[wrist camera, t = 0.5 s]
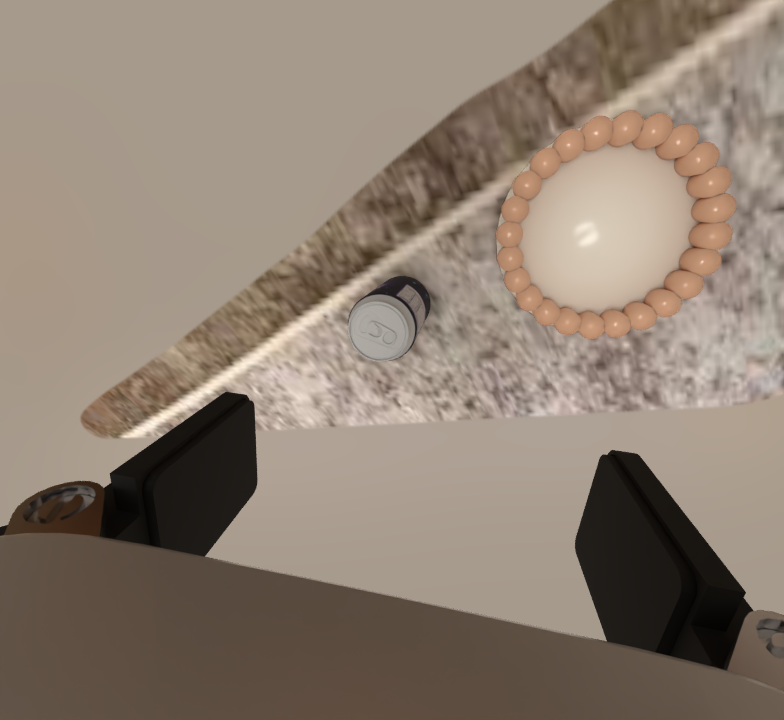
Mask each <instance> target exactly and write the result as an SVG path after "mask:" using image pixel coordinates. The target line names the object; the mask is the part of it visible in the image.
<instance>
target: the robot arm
mask: <svg viewBox="0 0 784 720" xmlns="http://www.w3.org/2000/svg"><path fill="white" fill-rule="evenodd" d="M256 460H257V458H256V434H255V409H254V403H253V401H250V400H249V398H248V396H247V395H244V394H237V393H230V392H225V393H223V394H222V395H220V396H219V397H218V398H216V399H215V400H213V401H212V402H210V403H209V404H208V405H206V406H205V407H203V408H202V409H201V410H199V411H198V412H196V413H195V414H193V415H192V416H191V417H189V418H188V419H186V420H185V421H184V422H182V423H181V424H179V425H178V426H176V427H175V428H174V429H172V430H171V431H169V432H168V433H166V434H165V435H164V436H162V437H161V438H159V439H158V440H157V441H155V442H154V443H152V444H151V445H149V446H148V447H147V448H145V449H144V450H142V451H141V452H139V453H138V454H137V455H135V456H134V457H132V458H131V459H130V460H128V461H127V462H125V463H124V464H122V465H121V466H120V467H118V468H117V469H115V470H114V471H113V472H111V473H110V478H111V484H109V485H107V486H106V487H105V488H103V487H102V486H101V485H100V484H98V483H95V482H91V481H74V482H67V483H63V484H59V485H55V486H52V487H50V488H47V489H45V490H43V491H40V492H38V493H36V494H34V495H33V496H31V497H29V498H27V499H26V500H25V501H24V502H22V503H21V504H20V505H19V506H18V507H17V508H16V510H15V511H14V513H13V514H12V516H11V519H10V521H9V524H8V525H6V526H2V527H0V720H784V615H782V614H779V613H775V612H772V611H764V610H757V611H753V610H752V608H751V607H750V606H749V604H748V603H747V602H746V600H745V599H744V598H743V597H744V595H745V593H746V592H745V591H744V589H743V588H742V587H741V585H740V584H739V583H738V582H737V580H736V579H735V578H734V577H733V575H732V574H731V573H730V571H729V570H728V569H727V567H726V566H725V565H724V564H723V562H722V561H721V560H720V558H719V557H718V556H717V555H716V553H715V552H714V551H713V549H712V548H711V547H710V546H709V544H708V543H707V542H706V540H705V539H704V538H703V537H702V535H701V534H700V533H699V531H698V530H697V529H696V528H695V526H694V525H693V524H692V522H691V521H690V520H689V519H688V518H687V516H686V515H685V513H684V512H683V511H682V510H681V508H680V507H679V506H678V504H677V503H676V502H675V501H674V500H673V498H672V497H671V495H670V494H669V493H668V492H667V491H666V489H665V488H664V486H663V485H662V484H661V483H660V481H659V480H658V479H657V478H656V476H655V475H654V474H653V472H652V471H651V470H650V469H649V467H648V466H647V465H646V463H645V462H644V461H643V460H642V458H641V457H640V456H639V455H638V454H635V453H629V452H622V451H615V450H611V451H610V452H609V453H608V455H602V456H601V457H600V459H599V462H598V466H597V469H596V473H595V476H594V479H593V482H592V486H591V489H590V493H589V496H588V499H587V502H586V506H585V509H584V512H583V516H582V519H581V523H580V526H579V529H578V533H577V536H576V540H575V549H576V554H577V557H578V560H579V563H580V566H581V569H582V571H583V574H584V577H585V580H586V583H587V586H588V588H589V591H590V594H591V597H592V600H593V603H594V605H595V608H596V611H597V614H598V617H599V620H600V623H601V625H602V628H603V631H604V634H605V637H606V640H607V641H602V640H598V639H593V638H588V637H584V636H578V635H574V634H570V633H565V632H560V631H556V630H551V629H547V628H542V627H537V626H532V625H528V624H523V623H518V622H514V621H509V620H505V619H500V618H496V617H490V616H486V615H482V614H477V613H472V612H468V611H463V610H458V609H454V608H449V607H444V606H439V605H435V604H430V603H425V602H421V601H416V600H411V599H407V598H402V597H397V596H392V595H388V594H383V593H378V592H373V591H368V590H364V589H359V588H354V587H349V586H344V585H340V584H335V583H330V582H325V581H321V580H316V579H311V578H306V577H301V576H297V575H292V574H287V573H282V572H277V571H272V570H267V569H262V568H257V567H252V566H247V565H242V564H238V563H233V562H228V561H223V560H218V559H213V558H208V557H205V555H206V554H207V553H208V552H209V550H210V549H211V548H212V547H213V545H214V544H215V543H216V541H217V540H218V539H219V537H220V536H221V535H222V534H223V532H224V531H225V530H226V528H227V527H228V526H229V525H230V523H231V522H232V521H233V519H234V518H235V517H236V515H237V514H238V513H239V511H240V510H241V509H242V508H243V507H244V505H245V504H246V503H247V501H248V500H249V499H250V497H251V496H252V495H253V493H254V492H255V489H256V486H257V461H256Z"/></svg>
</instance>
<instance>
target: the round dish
mask: <svg viewBox="0 0 784 720" xmlns="http://www.w3.org/2000/svg"><path fill="white" fill-rule="evenodd" d="M698 140H699V133H698V130H697V129H696V128H695V127H694V126H693V125H690V124H683V125H680V126H677V127H675V128H673V122H672V119H671V118H670V117H669V116H668V115H666V114H664V113H657V114H654V115H652V116H650V117H649V118H647V119H645V120H643V117H642V116H641V114H640V113H638V112H637V111H633V110H630V111H626V112H623V113H622V114H620V115H619V116H618V117H616V118H615V119H609V118H608V117H605V116H597V117H595V118H593V119H591V120H590V121H589V122H588V123H587V124H585V125H584V126H583V127H580V128H578V129H569V130H566V131H564V132H563V133H562V134H561V135H560V136H559V137H558V138H557V139H556V140H555V141H554V142H553V143H551V144H550V145H548V146H547V147H546V148H544V149H542V150H540V151H539V152H538V153H537V154H536V155H535V156H534V157H533V158H532V159H531V161H530V163H529V164H528V165H527V166H526V167H525V169H524V170H523V171H522V172H521V174H520V175H519V176H518V177H517V178H516V179H515V180H514V182H513V184H512V188H511V189H510V191H509V193H508V195H507V197H506V200H505V202H504V203H503V204H502V207H501V214H500V218H499V222H498V228H497V230H496V239H497V245H496V246H497V261H498V263H499V265H500V269H501V272H502V275H503V280H504V282H505V285H506V287H507V289H508V290H509V291H511V293H512V294H513V295H514V297H515V298H516V300H517V302H518V305H519V306H520V308H521V309H523V310H525V311H529V312H530V313H532V314H533V315H534V317H535V319H536V321H537V322H538V323H540V324H541V325H545V326H548V325H553V326H555V327H556V329H557V330H558V331H559V332H560V333H561V334H564V335H571V334H574V333H575V332H577V331H578V332H579V333H580V334H581V335H582V336H583V337H585V338H587V339H595V338H598V337H599V336H601V335H602V334H603V332H605V333H606V334H607V335H609V336H611V337H621V336H624V335H625V334H626V333H627V332H628V331H629V330H630V328H631V327H633V328H634V329H637V330H646V329H648V328H650V327H651V326H653V325H654V323H655V322H656V320H657V315H658V316H661V317H669V316H672V315H674V314H676V313H677V312H678V311H679V309H680V308H681V305H682V300H681V298H683V299H689V298H692V297H695V296H696V295H698V294H699V293H700V292H701V290H702V289H703V286H704V281H703V278H702V277H701V276H707V275H710V274H712V273H713V272H715V271H716V270H717V269H718V268H719V266H720V264H721V255H720V254H719V252H718V251H716V250H718V249H721V248H723V247H724V246H726V245H727V244H728V243H729V241H730V240H731V238H732V233H733V232H732V228H731V226H730V225H729V224H727V223H725V222H724V221H726V220H728V219H729V218H730V217H731V216H732V215H733V213H734V212H735V209H736V200H735V199H734V197H733V196H731V195H730V194H725V193H724V192H725V191H726V190H727V189H728V188H729V186H730V184H731V181H732V175H731V172H730V171H729V170H728V169H727V168H725V167H722V166H716V167H714V166H715V165H716V163H717V161H718V158H719V150H718V148H717V147H716V146H715V145H714V144H712V143H709V142H705V143H700V144H697V143H698Z"/></svg>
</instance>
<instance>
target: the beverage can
mask: <svg viewBox="0 0 784 720" xmlns="http://www.w3.org/2000/svg"><path fill="white" fill-rule="evenodd" d="M429 310H430V299H429V295H428V293H427V291H426V289H425V288H424V286H423V285H422V284H421V283H420V282H418V281H417V280H415V279H413V278H410V277H406V276H398V277H394V278H392V279H390V280H388V281H386V282H385V283H383V284H382V285H381V286H379V287H378V288H376V289H375V290H373V291H372V292H371V293H369V294H368V295H366V296H365V297H363V298H362V299H361V300H359V301H358V302H357V303H356V304H355V305H354V307H353V308H352V310H351V312H350V315H349V319H348V335H349V339H350V342H351V344H352V346H353V347H354V349H355V350H356V351H357V352H358V353H359V354H360V355H362V356H363V357H365V358H367V359H369V360H372V361H376V362H385V361H391V360H395V359H397V358H400V357H401V356H403V355H404V354H406V353H407V352H408V351H409V349H410V348H411V347H412V345H413V343H414V341H415V339H416V337H417V335H418V333H419V331H420V329H421V327H422V325H423V323H424V321H425V320H426V318H427V316H428V313H429Z"/></svg>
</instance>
